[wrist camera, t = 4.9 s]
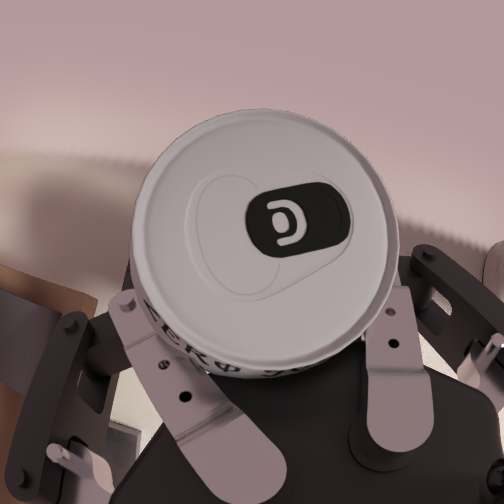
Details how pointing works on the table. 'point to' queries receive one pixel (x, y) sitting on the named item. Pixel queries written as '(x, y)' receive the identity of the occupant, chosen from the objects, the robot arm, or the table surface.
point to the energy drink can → (262, 243)
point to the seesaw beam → (27, 344)
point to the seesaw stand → (121, 450)
